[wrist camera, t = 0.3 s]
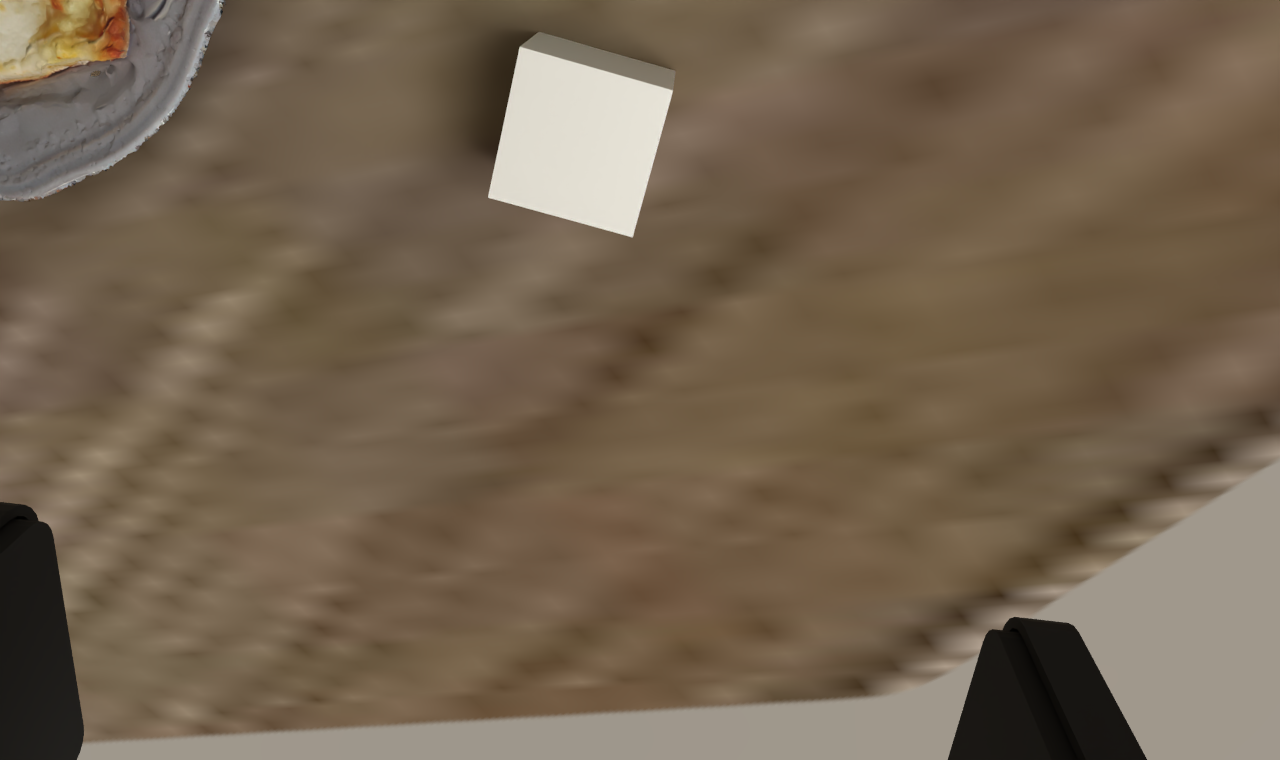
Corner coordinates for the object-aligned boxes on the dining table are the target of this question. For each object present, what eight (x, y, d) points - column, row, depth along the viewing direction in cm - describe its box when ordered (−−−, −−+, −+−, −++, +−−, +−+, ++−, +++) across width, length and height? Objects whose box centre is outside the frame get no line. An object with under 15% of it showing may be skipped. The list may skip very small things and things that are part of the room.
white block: (539, 31, 36) (519, 46, 32) (675, 70, 37) (673, 90, 33) (510, 166, 38) (488, 197, 34) (639, 202, 39) (632, 237, 35)
